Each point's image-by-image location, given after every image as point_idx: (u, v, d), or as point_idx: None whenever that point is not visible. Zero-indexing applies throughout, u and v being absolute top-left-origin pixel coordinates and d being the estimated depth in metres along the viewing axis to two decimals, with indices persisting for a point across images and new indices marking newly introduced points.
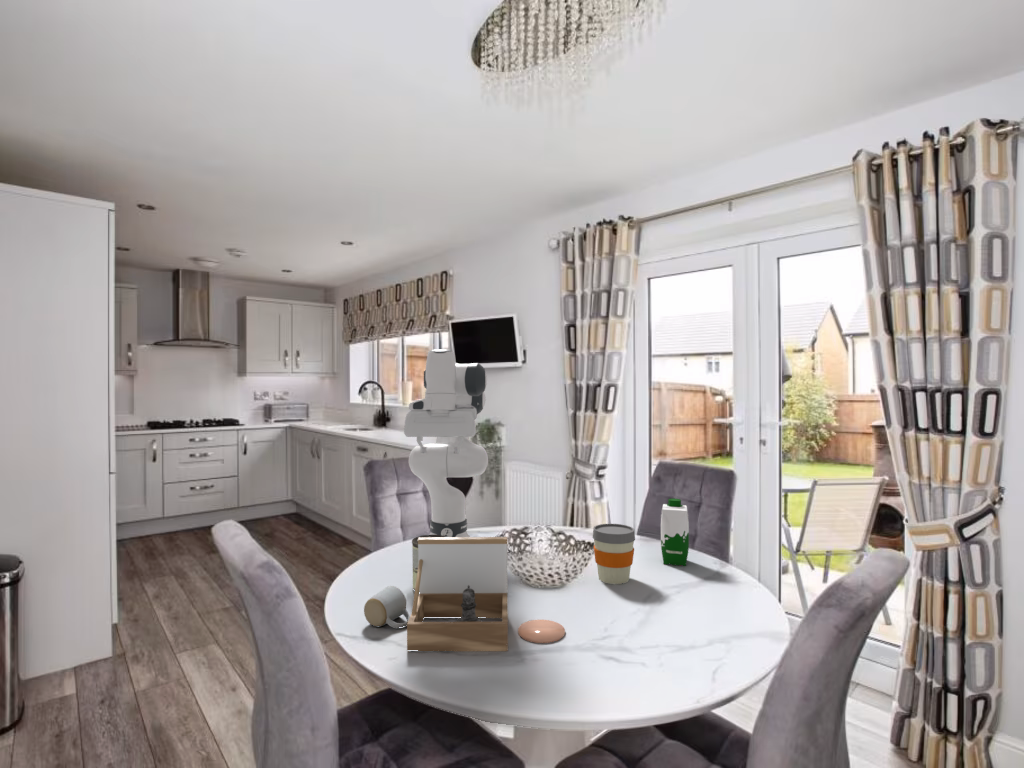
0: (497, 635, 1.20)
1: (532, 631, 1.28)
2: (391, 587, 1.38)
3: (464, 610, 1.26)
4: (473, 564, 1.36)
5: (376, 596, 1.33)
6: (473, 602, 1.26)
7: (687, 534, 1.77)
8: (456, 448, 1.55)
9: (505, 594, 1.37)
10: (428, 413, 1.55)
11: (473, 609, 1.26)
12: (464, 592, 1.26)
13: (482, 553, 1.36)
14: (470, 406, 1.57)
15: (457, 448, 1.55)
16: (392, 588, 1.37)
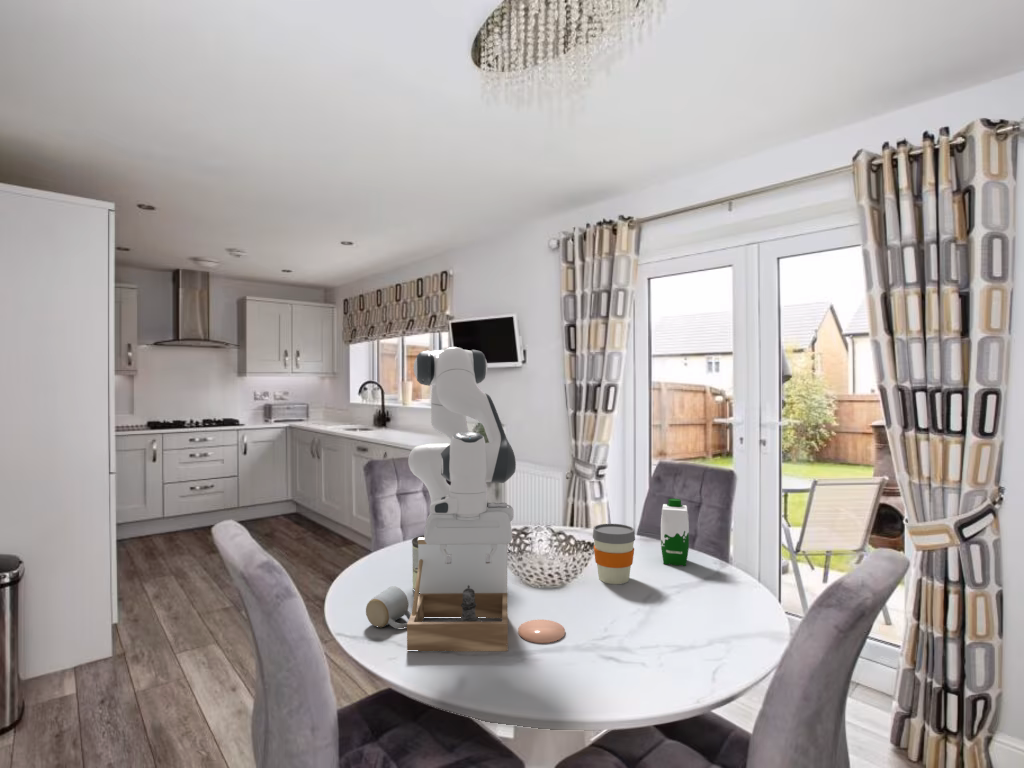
0: (497, 635, 1.20)
1: (532, 631, 1.28)
2: (393, 587, 1.37)
3: (464, 610, 1.26)
4: (473, 564, 1.36)
5: (378, 597, 1.33)
6: (473, 602, 1.26)
7: (687, 534, 1.77)
8: (488, 558, 1.26)
9: (505, 594, 1.37)
10: (454, 516, 1.25)
11: (473, 609, 1.26)
12: (464, 592, 1.26)
13: (482, 553, 1.36)
14: (505, 505, 1.27)
15: (490, 558, 1.26)
16: (394, 588, 1.37)
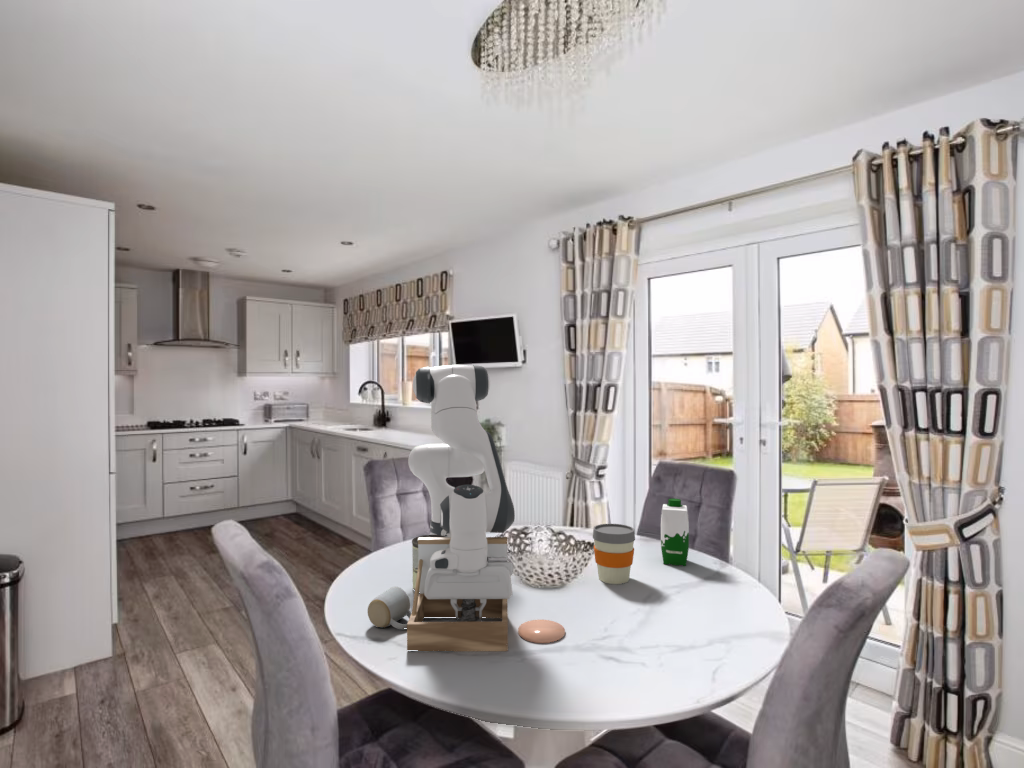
0: (497, 635, 1.20)
1: (532, 631, 1.28)
2: (395, 588, 1.37)
3: (464, 610, 1.26)
4: None
5: (380, 597, 1.32)
6: (473, 602, 1.26)
7: (687, 534, 1.77)
8: (478, 612, 1.26)
9: None
10: (454, 571, 1.25)
11: (473, 609, 1.26)
12: None
13: None
14: (505, 560, 1.27)
15: (479, 612, 1.26)
16: (396, 589, 1.36)
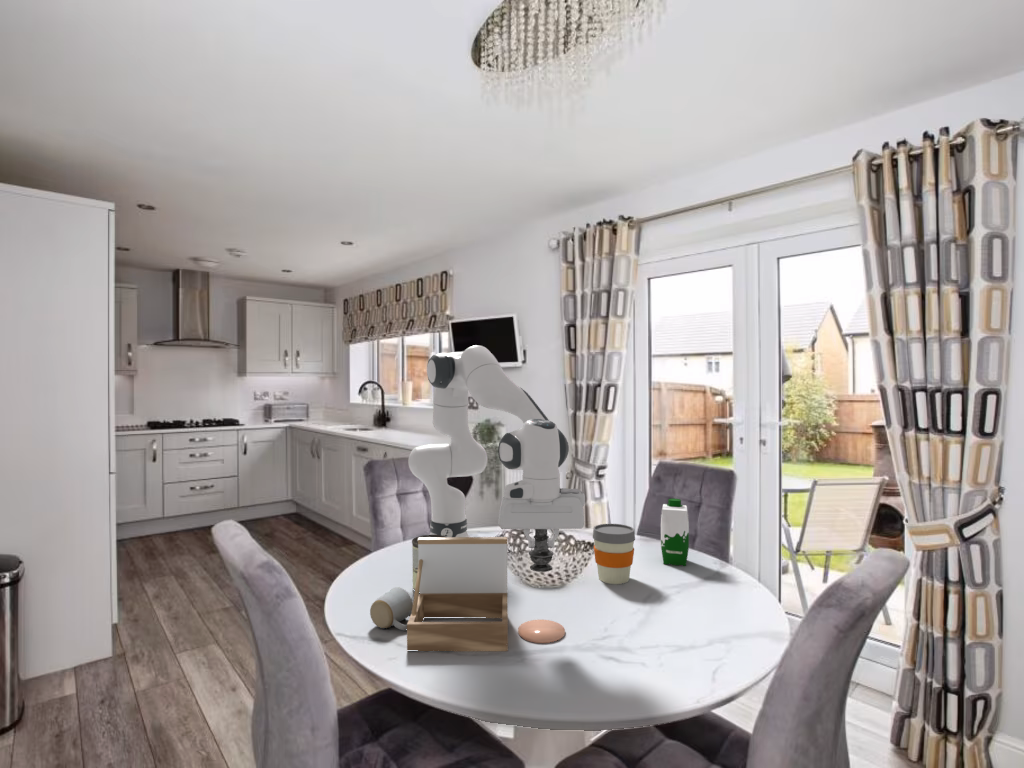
0: (497, 635, 1.20)
1: (532, 631, 1.28)
2: (397, 588, 1.36)
3: (537, 541, 1.28)
4: (473, 564, 1.36)
5: (382, 598, 1.32)
6: (546, 534, 1.28)
7: (687, 534, 1.77)
8: (551, 542, 1.28)
9: (505, 594, 1.37)
10: (528, 501, 1.27)
11: (546, 540, 1.28)
12: None
13: (482, 553, 1.36)
14: (577, 491, 1.29)
15: (552, 542, 1.28)
16: (398, 589, 1.36)
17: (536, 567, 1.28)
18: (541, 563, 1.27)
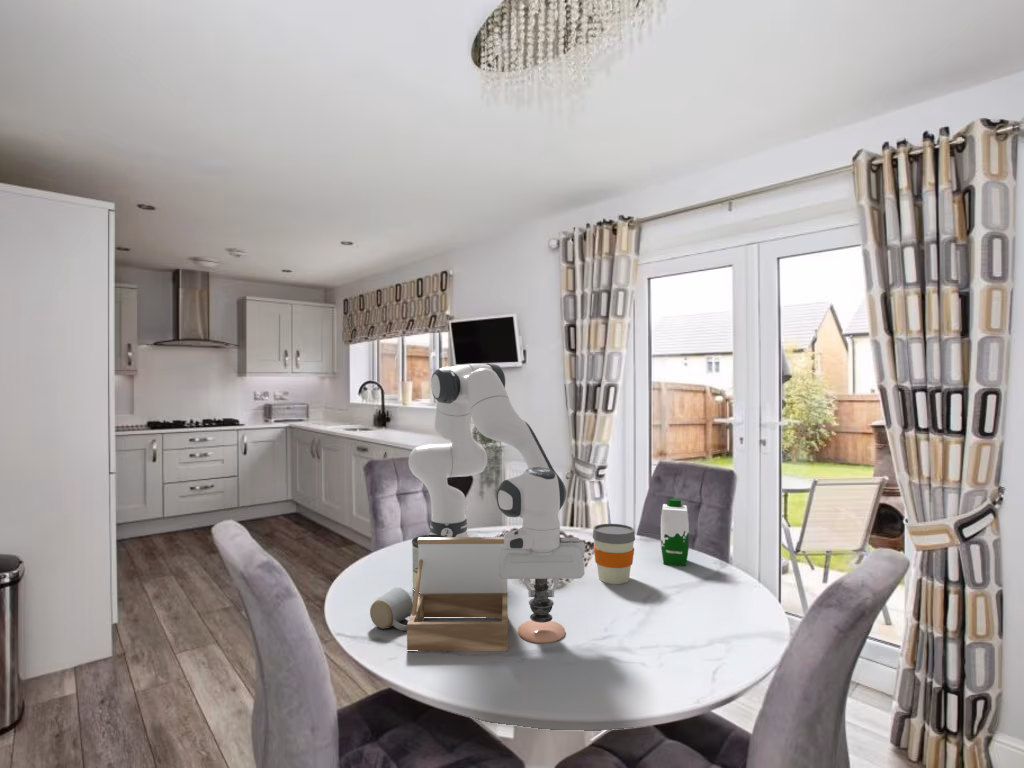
0: (497, 635, 1.20)
1: (532, 631, 1.28)
2: (397, 589, 1.36)
3: (537, 591, 1.28)
4: (473, 564, 1.36)
5: (382, 598, 1.32)
6: (546, 583, 1.28)
7: (687, 534, 1.77)
8: (551, 592, 1.28)
9: (505, 594, 1.37)
10: (528, 551, 1.27)
11: (546, 590, 1.28)
12: None
13: (482, 553, 1.36)
14: (577, 540, 1.29)
15: (552, 592, 1.28)
16: (398, 590, 1.36)
17: (536, 617, 1.28)
18: (541, 613, 1.27)
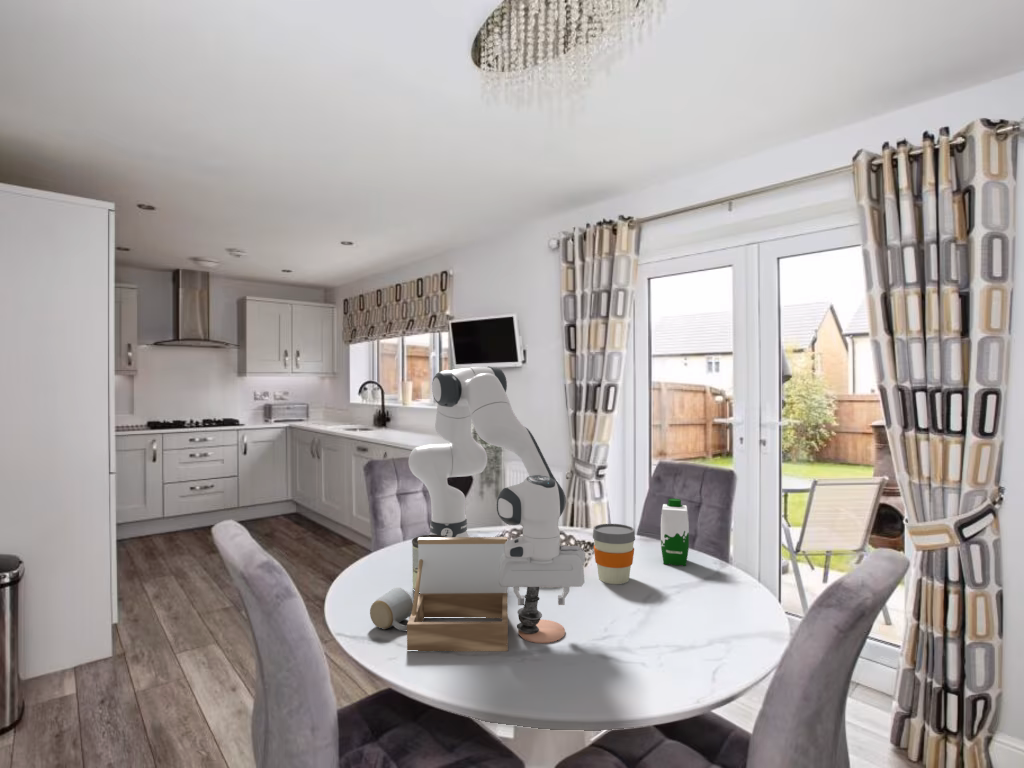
0: (497, 635, 1.20)
1: None
2: (397, 589, 1.36)
3: (527, 602, 1.28)
4: (473, 564, 1.36)
5: (382, 598, 1.32)
6: (537, 595, 1.28)
7: (687, 534, 1.77)
8: (561, 600, 1.29)
9: (505, 594, 1.37)
10: (528, 560, 1.27)
11: (536, 602, 1.28)
12: None
13: (482, 553, 1.36)
14: (577, 548, 1.29)
15: (562, 600, 1.29)
16: (398, 590, 1.36)
17: (523, 627, 1.28)
18: (528, 624, 1.27)
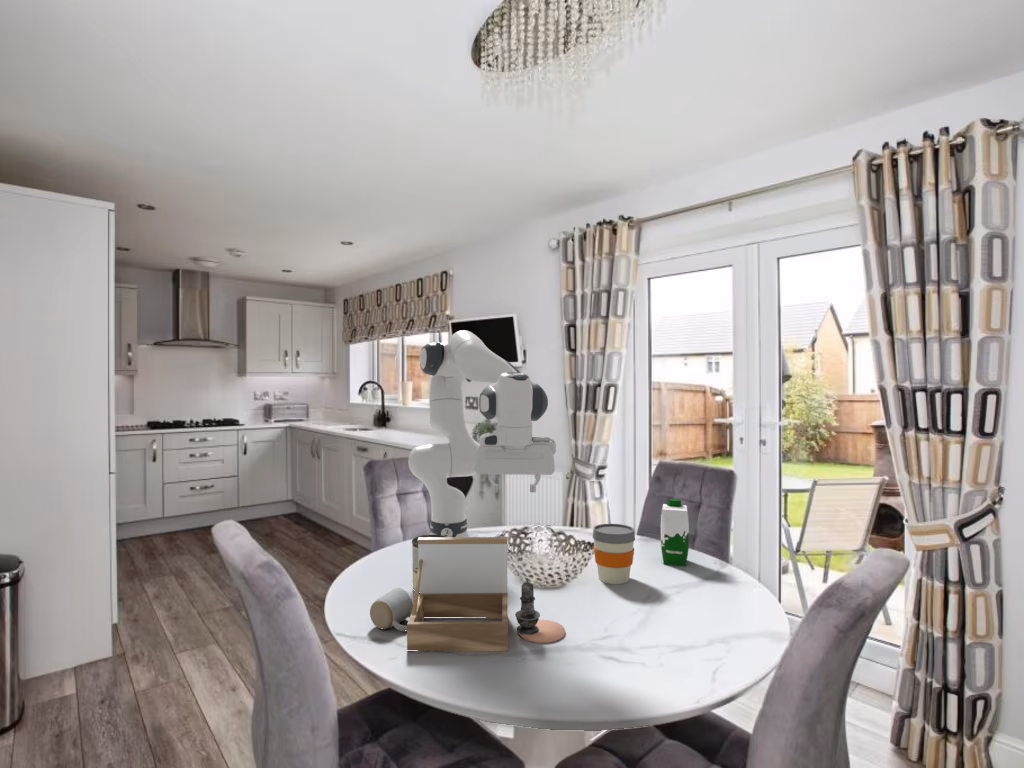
0: (497, 635, 1.20)
1: None
2: (397, 589, 1.36)
3: (523, 603, 1.28)
4: (473, 564, 1.36)
5: (382, 598, 1.32)
6: (532, 596, 1.28)
7: (687, 534, 1.77)
8: (533, 487, 1.37)
9: (505, 594, 1.37)
10: (502, 448, 1.36)
11: (532, 602, 1.28)
12: (523, 586, 1.29)
13: (482, 553, 1.36)
14: (548, 439, 1.37)
15: (534, 487, 1.37)
16: (398, 590, 1.36)
17: (522, 629, 1.28)
18: (527, 626, 1.27)
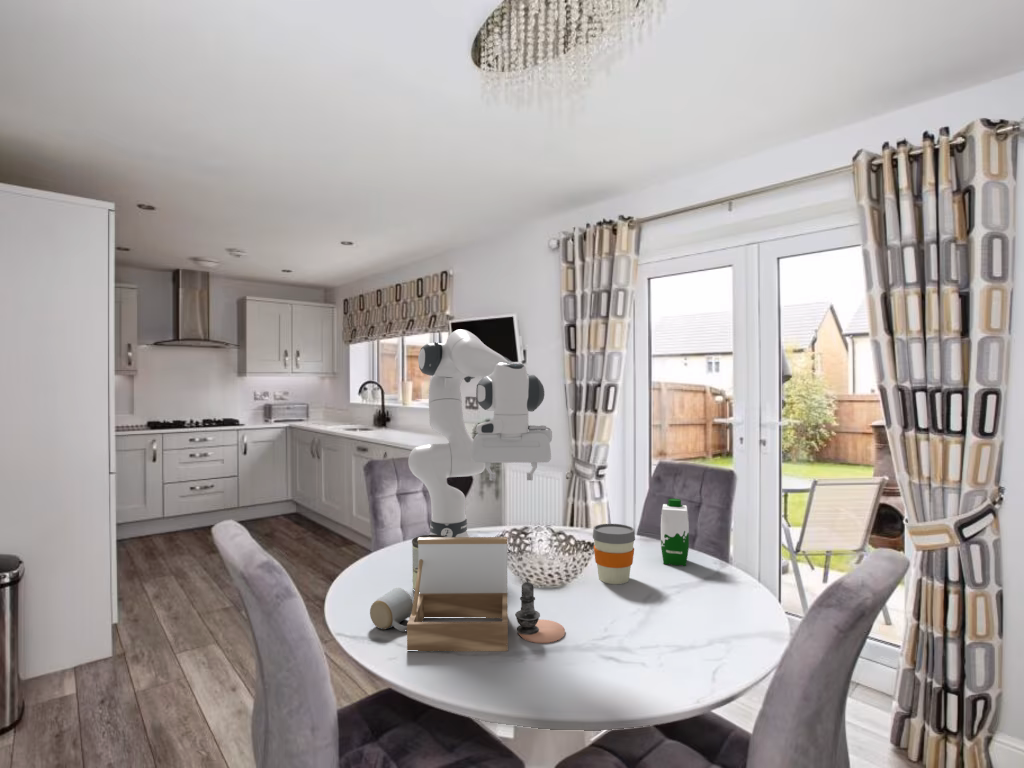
0: (497, 635, 1.20)
1: None
2: (397, 589, 1.36)
3: (523, 603, 1.28)
4: (473, 564, 1.36)
5: (382, 598, 1.32)
6: (532, 596, 1.28)
7: (687, 534, 1.77)
8: (529, 475, 1.38)
9: (505, 594, 1.37)
10: (498, 436, 1.37)
11: (532, 602, 1.28)
12: (523, 586, 1.29)
13: (482, 553, 1.36)
14: (545, 427, 1.39)
15: (531, 475, 1.38)
16: (398, 590, 1.36)
17: (522, 629, 1.28)
18: (527, 626, 1.27)
